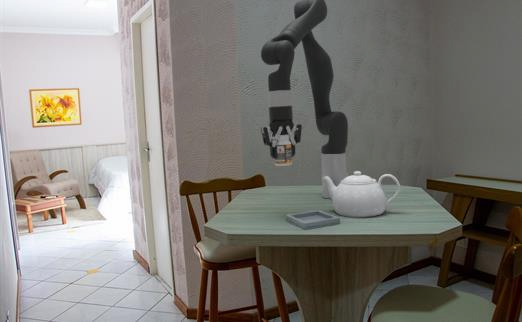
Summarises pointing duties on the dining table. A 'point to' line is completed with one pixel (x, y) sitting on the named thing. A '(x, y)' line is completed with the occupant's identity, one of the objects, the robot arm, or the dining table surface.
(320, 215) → the dish
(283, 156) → the pill bottle
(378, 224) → the dining table surface
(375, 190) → the teapot
